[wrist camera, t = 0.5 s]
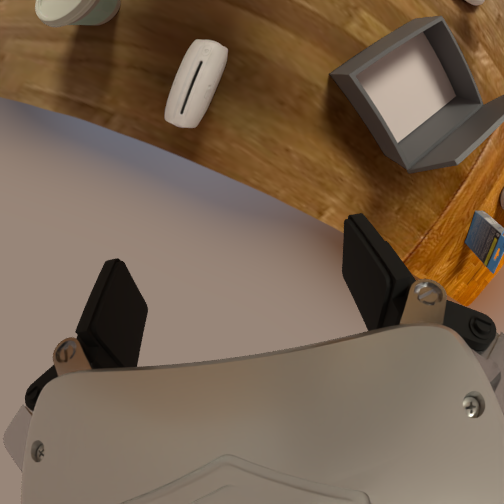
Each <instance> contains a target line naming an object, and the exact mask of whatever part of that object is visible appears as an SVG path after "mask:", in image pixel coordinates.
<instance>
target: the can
mask: <svg viewBox="0 0 504 504" xmlns="http://www.w3.org/2000/svg"><path fill="white" fill-rule="evenodd" d="M500 201H501V207H502V208H503V209H504V188H503V190H502V192H501V196H500Z"/></svg>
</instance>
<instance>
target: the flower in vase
mask: <svg viewBox="0 0 504 504" xmlns="http://www.w3.org/2000/svg"><path fill="white" fill-rule="evenodd" d="M465 1H466V2H468V3H470V4H472V5H475V6H478V5H481V4H482V3H483V2H484V1H485V0H465Z"/></svg>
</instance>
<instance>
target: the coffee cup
mask: <svg viewBox="0 0 504 504" xmlns="http://www.w3.org/2000/svg"><path fill="white" fill-rule="evenodd" d="M119 7H120V0H36V5H35V10H36V14H37V16H38V17H39V18H40V20H41V21H42V22H43V23H44V24H46V25H48V26H51V27H61V26H65V25H101V24H104V23H106V22H108V21H109V20H111V19H112V18H113V17H114V16H115V15H116V13H117V12H118V10H119Z"/></svg>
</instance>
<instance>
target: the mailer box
mask: <svg viewBox="0 0 504 504" xmlns="http://www.w3.org/2000/svg"><path fill="white" fill-rule="evenodd" d="M329 75H330V76H331V77H332V79H333V80H334V81H335V82H336V84H337V85H338V86H339V88H340V89H341V90H342V92H343V93H344V94H345V96H346V97H347V98H348V100H349V101H350V103H351V104H352V105H353V107H354V108H355V110H356V111H357V112H358V114H359V115H360V117H361V118H362V120H363V121H364V123H365V124H366V126H367V127H368V129H369V131H370V132H371V134H372V135H373V137H374V138H375V140H376V142H377V143H378V145H379V147H380V148H381V150H382V152H383V153H384V155H385V156H387V157H388V158H390V159H392V160H393V161H395V162H396V163H398V164H399V165H401V166H402V167H404V168H405V169H407V170H408V169H409V168H411V167H412V166H413V165H414V164H415V163H417V162H418V161H419V160H420V159H422V158H423V157H424V156H425V155H426V154H428V153H429V152H430V151H431V150H432V149H434V148H435V147H436V146H437V145H438V144H439V143H441V142H442V141H443V140H444V139H445V138H447V137H448V136H449V135H450V134H451V133H452V132H454V131H455V130H456V129H457V128H458V127H459V126H460V125H462V124H463V123H464V122H465V121H466V120H467V119H469V118H470V117H471V116H472V115H473V114H474V113H475V112H476V111H478V110H479V109H480V108H481V107H482V106H483V102H482V99H481V96H480V94H479V91H478V88H477V86H476V83H475V81H474V78H473V76H472V74H471V71H470V69H469V67H468V64H467V62H466V60H465V58H464V56H463V54H462V52H461V50H460V48H459V46H458V44H457V42H456V40H455V38H454V36H453V34H452V32H451V31H450V29H449V27H448V25H447V24H446V22H445V20H444V19H443V17H442V16H435V17H425V18H417V19H414V20H412V21H410V22H408V23H407V24H405V25H403V26H401V27H400V28H398V29H396V30H395V31H393V32H391V33H390V34H388V35H386V36H385V37H383V38H382V39H380V40H378V41H377V42H375V43H374V44H372V45H371V46H369V47H367V48H366V49H364V50H363V51H361V52H360V53H358V54H357V55H355V56H354V57H353V58H351V59H350V60H348V61H347V62H345V63H344V64H342V65H341V66H340V67H338V68H337V69H335V70H334V71H333V72H331V73H330V74H329Z"/></svg>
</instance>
